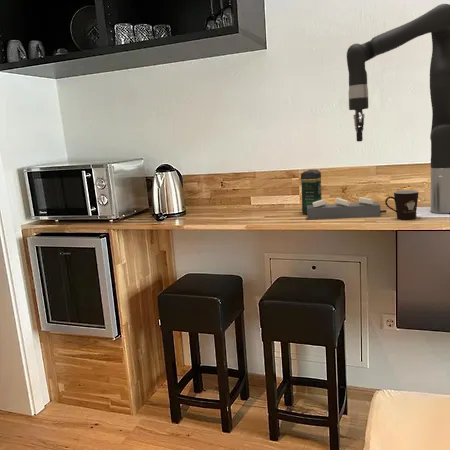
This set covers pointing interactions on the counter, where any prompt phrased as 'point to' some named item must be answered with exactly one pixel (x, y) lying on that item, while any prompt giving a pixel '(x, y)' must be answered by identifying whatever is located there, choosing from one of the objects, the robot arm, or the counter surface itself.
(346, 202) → the middle rocker
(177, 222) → the counter surface
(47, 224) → the counter surface
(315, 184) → the coffee jar
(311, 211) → the power strip
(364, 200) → the near rocker
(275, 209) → the counter surface
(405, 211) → the coffee mug
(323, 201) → the far rocker
